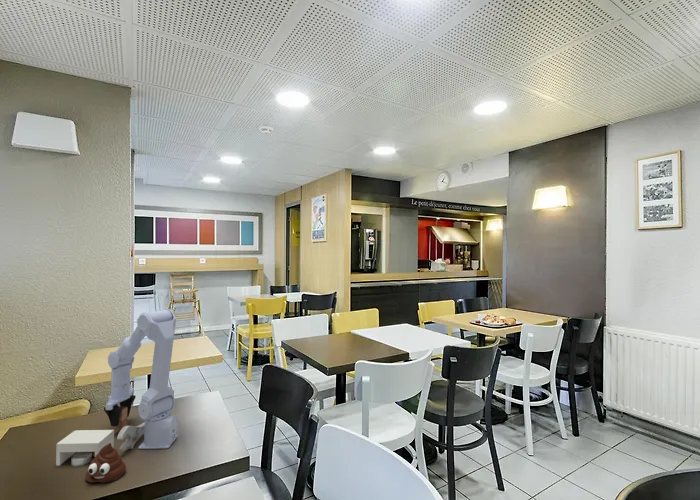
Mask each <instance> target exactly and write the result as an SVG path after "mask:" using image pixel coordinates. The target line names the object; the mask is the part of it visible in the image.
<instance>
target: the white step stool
mask: <svg viewBox="0 0 700 500" xmlns="http://www.w3.org/2000/svg"><path fill="white" fill-rule="evenodd" d="M109 443H111V446H112V447H113V449H115V434H114V430H112V429H91V430H90V429H86V430H85V429H84V430H83V429H82V430H81V429H79V430H77V429H76V430H73V431H72V432H71V433H70V434H68V435H66V437H63V439H61V440H59V441H58V442H57V443H56V447H55V448H56V450H55V451H56V454H55V456H56V457H55V460H56V462H55V466H56V467H59V466H61V465H62V464H64V463H65V462H66V461H67V460H69V459H71V458H72V456H73V455H75V454H77V453H78V452H95V456H96V455H97V454H98V453H99V451H100V450H101V449H102V448H103V447H104V446H105V445H107V444H109ZM95 456H94V457H95Z"/></svg>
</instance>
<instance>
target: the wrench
mask: <svg viewBox="0 0 700 500" xmlns="http://www.w3.org/2000/svg"><path fill="white" fill-rule="evenodd" d="M144 425H145V421H144V422H142V423H140V424H139V425H137V426H135V425H134V426H133V425H127V426H124V427H123V428H122V429H121V430H119V431H118V435H117V437H116V440H117V441H123V440H124V439H125V441H124V442H123V443H122V444H121V445H120V447H119V450H120V451H127V450H132V449H134V446H135V444H136V442H137V441H138V439H139V438H140V436H141V435H143V434H144Z"/></svg>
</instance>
